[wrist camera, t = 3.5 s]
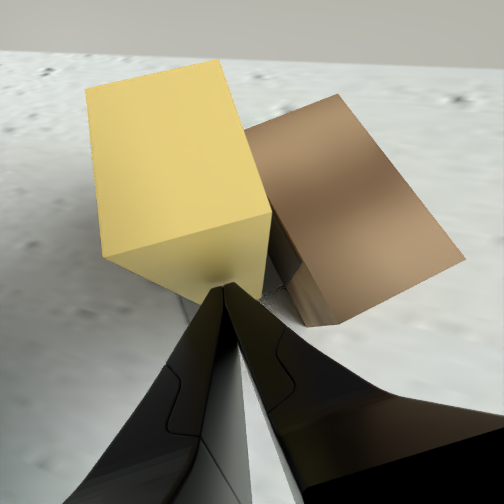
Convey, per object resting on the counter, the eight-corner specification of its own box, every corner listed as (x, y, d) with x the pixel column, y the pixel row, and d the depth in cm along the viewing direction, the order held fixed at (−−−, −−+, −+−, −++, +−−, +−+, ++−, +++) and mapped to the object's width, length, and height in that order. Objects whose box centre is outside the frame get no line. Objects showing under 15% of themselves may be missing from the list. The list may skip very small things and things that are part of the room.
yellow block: (261, 298, 16) (272, 211, 4) (215, 312, 16) (103, 257, 4) (244, 242, 17) (218, 58, 6) (201, 254, 17) (84, 89, 5)
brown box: (386, 286, 16) (466, 259, 10) (298, 331, 16) (325, 331, 9) (311, 170, 19) (337, 93, 13) (233, 203, 18) (221, 138, 12)
